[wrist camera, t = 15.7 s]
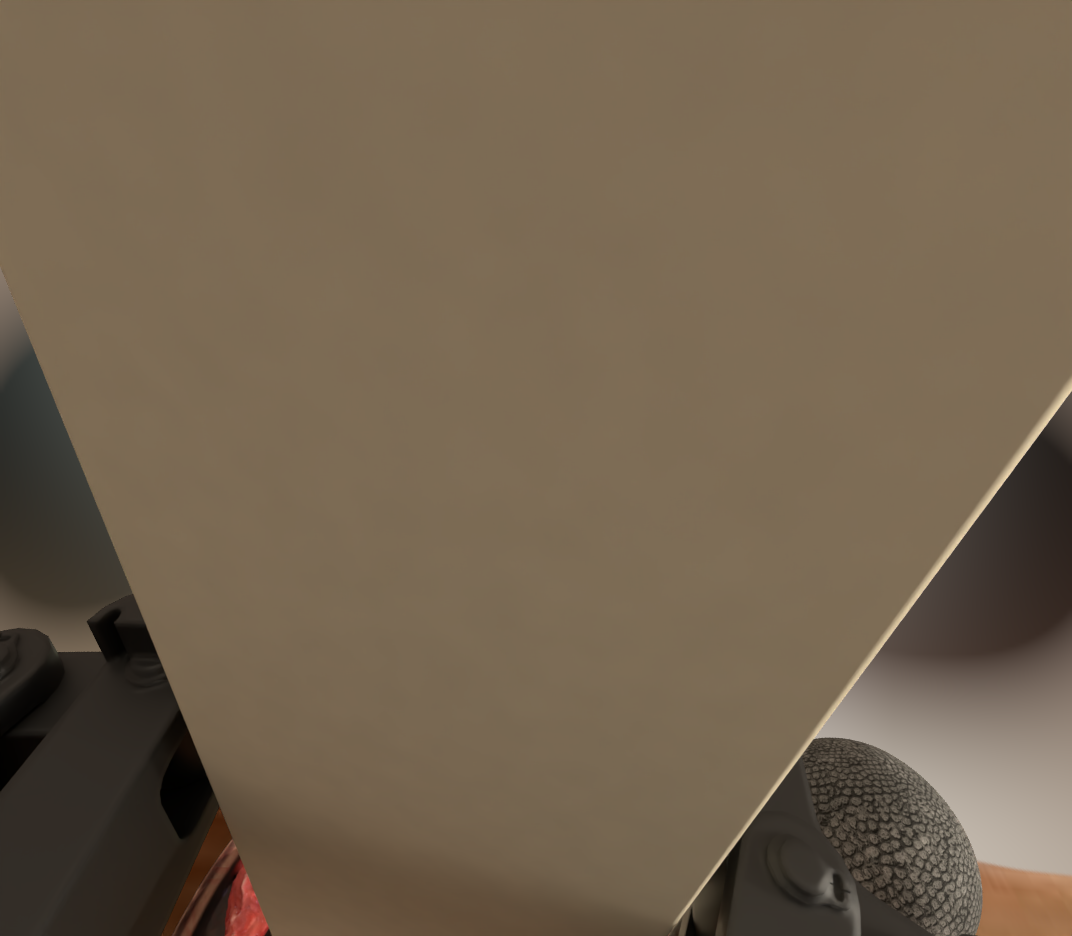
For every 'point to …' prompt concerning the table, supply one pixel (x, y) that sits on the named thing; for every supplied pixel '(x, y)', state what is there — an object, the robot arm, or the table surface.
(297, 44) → the beige wooden block
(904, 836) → the decorative ball
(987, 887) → the table surface
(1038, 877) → the table surface
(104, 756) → the robot arm
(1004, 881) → the table surface
